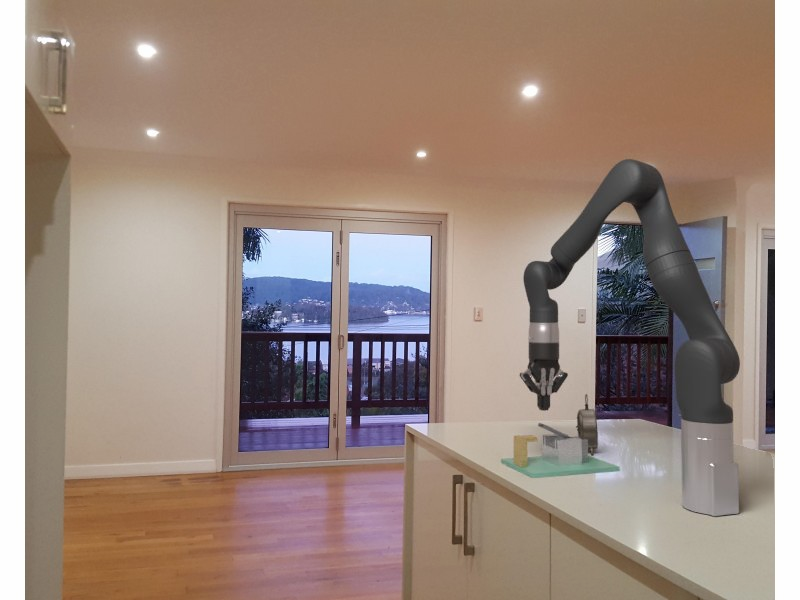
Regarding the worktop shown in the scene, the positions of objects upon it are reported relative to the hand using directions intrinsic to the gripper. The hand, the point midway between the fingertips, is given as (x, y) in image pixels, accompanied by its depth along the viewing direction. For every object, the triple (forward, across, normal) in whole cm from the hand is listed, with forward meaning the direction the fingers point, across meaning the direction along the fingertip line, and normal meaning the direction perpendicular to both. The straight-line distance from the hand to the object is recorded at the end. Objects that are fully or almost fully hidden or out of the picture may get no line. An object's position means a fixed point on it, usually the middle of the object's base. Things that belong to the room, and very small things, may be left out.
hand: (543, 410), depth 155 cm
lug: (+13, -5, 0) cm, 14 cm away
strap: (+7, +5, 0) cm, 8 cm away
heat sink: (+13, +6, 0) cm, 15 cm away
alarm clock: (+15, +21, +13) cm, 29 cm away
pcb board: (+14, +4, 0) cm, 15 cm away
